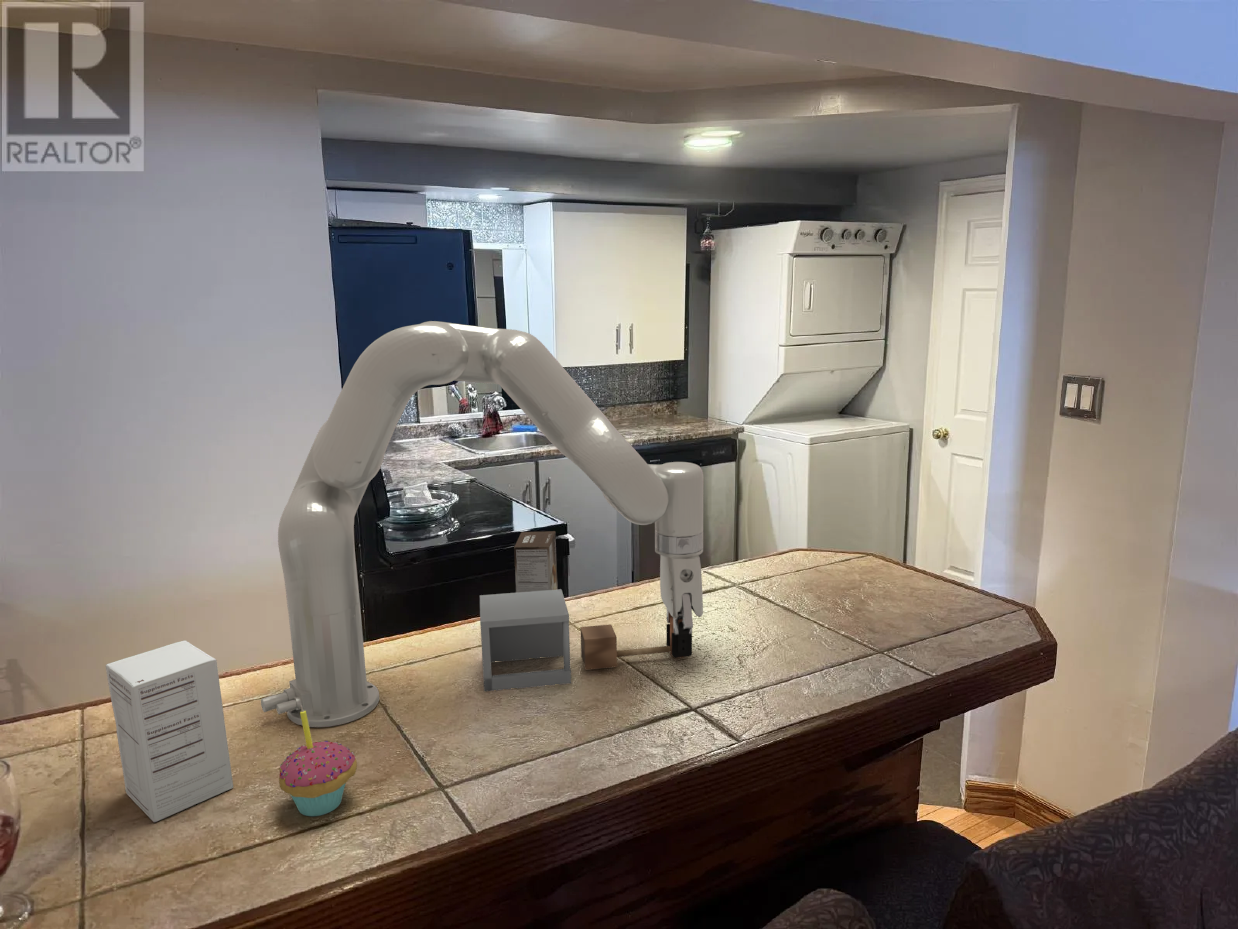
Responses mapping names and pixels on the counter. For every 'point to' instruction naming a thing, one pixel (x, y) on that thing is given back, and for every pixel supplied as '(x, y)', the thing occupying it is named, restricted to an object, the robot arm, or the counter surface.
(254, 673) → the counter surface
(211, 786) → the supplement box
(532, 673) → the grey open storage bin
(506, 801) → the counter surface
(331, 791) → the cupcake
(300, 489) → the robot arm
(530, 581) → the coffee box
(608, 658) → the block
